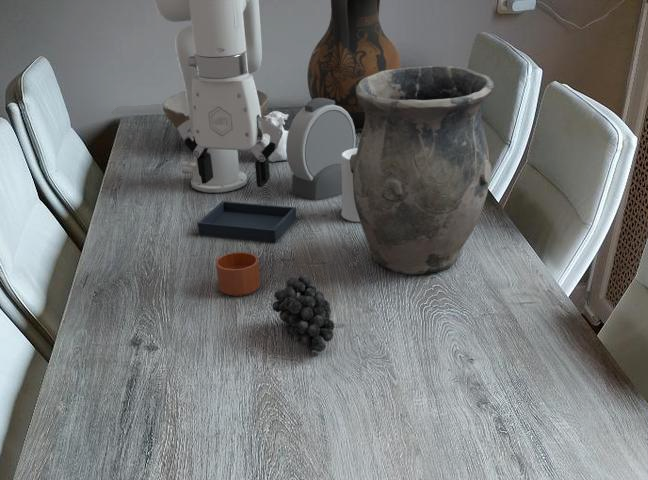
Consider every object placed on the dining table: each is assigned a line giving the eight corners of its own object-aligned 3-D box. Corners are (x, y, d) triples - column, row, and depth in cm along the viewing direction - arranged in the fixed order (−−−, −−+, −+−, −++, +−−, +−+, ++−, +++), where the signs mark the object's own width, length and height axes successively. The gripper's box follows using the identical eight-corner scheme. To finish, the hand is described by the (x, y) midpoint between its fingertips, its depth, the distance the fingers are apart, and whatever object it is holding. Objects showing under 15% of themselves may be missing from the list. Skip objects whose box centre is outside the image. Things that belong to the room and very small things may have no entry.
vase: (403, 136, 203) (407, -26, 180) (307, 138, 203) (300, -22, 181) (398, 109, 221) (401, -40, 199) (310, 112, 222) (304, -36, 200)
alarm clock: (333, 174, 182) (330, 87, 170) (365, 184, 176) (364, 95, 165) (280, 193, 174) (273, 103, 162) (312, 204, 168) (308, 112, 156)
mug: (396, 204, 166) (397, 145, 158) (401, 220, 160) (403, 158, 152) (339, 207, 166) (338, 148, 158) (343, 223, 159) (341, 162, 152)
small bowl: (212, 295, 136) (208, 267, 133) (229, 277, 142) (225, 250, 139) (251, 299, 135) (248, 272, 131) (267, 281, 140) (264, 254, 137)
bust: (304, 164, 194) (298, 118, 194) (306, 152, 187) (300, 104, 186) (255, 169, 193) (249, 122, 193) (256, 157, 186) (249, 108, 185)
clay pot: (329, 256, 147) (323, 79, 128) (422, 224, 157) (430, 56, 138) (408, 298, 133) (415, 107, 114) (505, 261, 143) (526, 79, 124)
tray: (198, 234, 157) (197, 223, 155) (223, 212, 166) (222, 200, 164) (275, 242, 153) (274, 230, 151) (296, 219, 162) (295, 207, 160)
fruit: (333, 304, 113) (308, 259, 124) (280, 329, 113) (260, 282, 124) (352, 351, 118) (327, 304, 129) (301, 375, 119) (281, 326, 130)
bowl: (291, 133, 208) (288, 92, 201) (228, 163, 191) (223, 118, 184) (213, 120, 219) (208, 81, 212) (147, 147, 202) (140, 105, 195)
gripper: (158, 70, 118) (176, 187, 128) (267, 73, 113) (276, 194, 124) (180, 59, 123) (196, 172, 134) (285, 62, 119) (292, 178, 129)
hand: (234, 182), depth 129 cm, fingers open, 9 cm apart
